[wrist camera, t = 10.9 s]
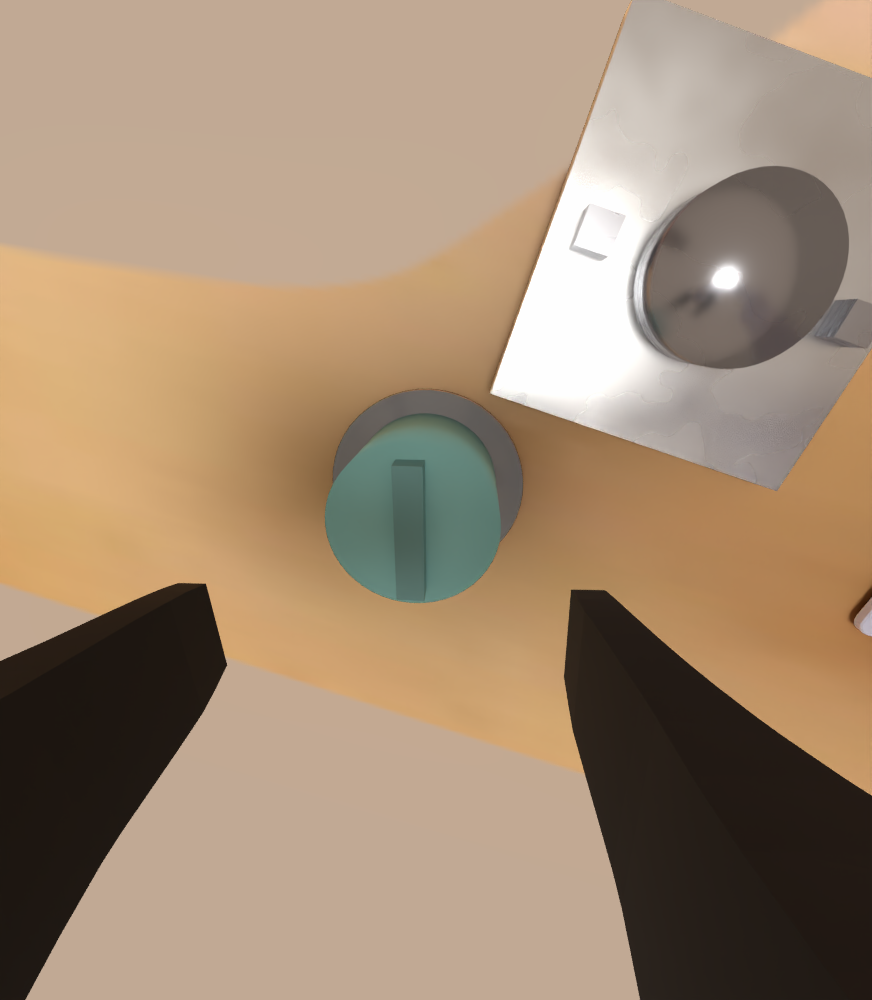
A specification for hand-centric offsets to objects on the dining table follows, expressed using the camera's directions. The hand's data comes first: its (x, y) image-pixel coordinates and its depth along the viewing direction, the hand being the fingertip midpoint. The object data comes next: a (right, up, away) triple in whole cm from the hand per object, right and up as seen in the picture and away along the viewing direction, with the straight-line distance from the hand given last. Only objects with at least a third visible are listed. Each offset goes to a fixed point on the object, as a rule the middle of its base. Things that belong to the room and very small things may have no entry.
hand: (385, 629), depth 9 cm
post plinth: (+9, +9, +5) cm, 14 cm away
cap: (+1, +3, +8) cm, 8 cm away
